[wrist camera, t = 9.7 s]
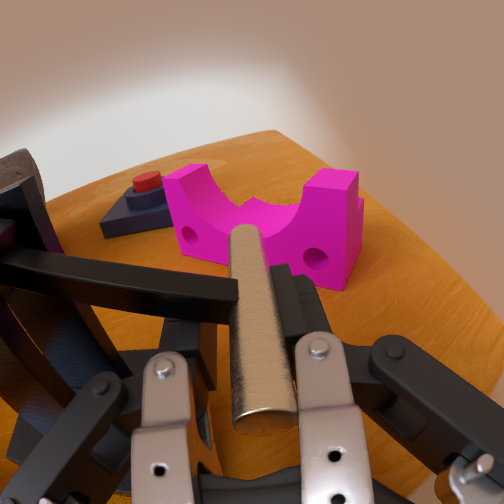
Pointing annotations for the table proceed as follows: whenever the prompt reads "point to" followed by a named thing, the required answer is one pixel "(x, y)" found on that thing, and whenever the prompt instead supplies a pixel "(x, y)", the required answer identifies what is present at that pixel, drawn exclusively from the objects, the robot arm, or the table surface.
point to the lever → (182, 312)
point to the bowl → (19, 169)
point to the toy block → (273, 223)
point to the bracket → (49, 338)
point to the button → (147, 181)
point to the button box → (137, 213)
